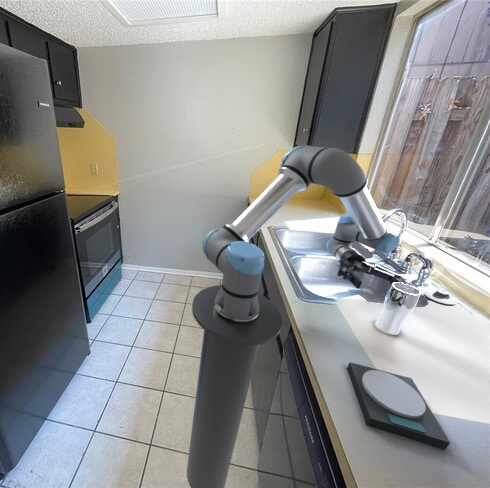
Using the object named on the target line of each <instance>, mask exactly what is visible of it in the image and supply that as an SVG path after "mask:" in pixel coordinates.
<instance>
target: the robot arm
mask: <svg viewBox="0 0 490 488" xmlns="http://www.w3.org/2000/svg"><path fill="white" fill-rule="evenodd" d="M277 174H278V176H277V177H276V178H275V179H274V180H273V181H272V182H271V183H270V184H269V185H268V186H267V187H266V188H265V189H264V190H263V191H262V192H261V193H260V194H259V195H258V196H257V197H256V198H255V199H254V200H253V201H252V203H250V204H249V205H248V206H247V208H245V210H243V212H241V213H240V215H239V216H238V217H236V219H235V220H234V221H232V223H226V224H224V225H223V226H222V227H221V228H220V229H218V228H217V229H212V230H211V231H209V232H208V233H207V234H206V235H205V237H204V238H203V241H202V252H203V254H204V255H205V257H206V259H207V260H208V261H209V262H210V263H211V264H213V265H214V266H215V267H216V269H218V270H219V272H220V273H222V281H221V285H222V287H221V289H220V291H219V292H218V294H217V296H216V298H215V300H214V310H215V312H216V313H217V314H218V315H219V316H220V317H221V318H223V319H225V320H227V321H229V322H232V323H237V324H248V323H252V322H254V321H255V320H256V319H257V318H258V316H259V311H260V309H259V302H258V296H257V293H259V290H260V289H259V288H260V284H261V280H262V275H263V271H264V267H265V258H266V257H265V253H264V251H263V250H262V249H261V248H260V247H259V246H257V245H255V244H254V243H250V240H251V239H252V238H253V237H254V236H255V235H256V234H257V233H258V232H259V231H260V230H261V229H262V228H263V227H264V225H266V224H267V223H268V222H269V221H270V220H271V219H272V218H273V217H274V216H275V215H276V214H277V213H278V212H279V211H280V210H281V209H282V208H283V207H284V205H286V204H287V203H288V202H289V201H290V200H291V199H292V198H293V196H295V195H296V194H297V193H299V192H304V191H306V190H307V189H308V188H309V187H310V186H311V185H312V184H314V185H318V186H323V187H325V188H327V189H329V190H330V192H332V194H333V196H335V197H337V198H339V199H340V200H341V202H342V204H343V206H344V207H345V209H346V211H347V213H342V214H340V216H339V219H338V221H337V224H336V226H335V230H334V233H333V237H331V238H329V239H328V241H327V242H326V245H325V247H326V249H327V251H328V252H329V254H330V255H332V256H333V257H334V258H335V259H336V260H337V261H338V262H337V265H336V266H337V268H338V270H337V273H336V274H337V276H338V277H342V280H345V281H346V280H347V281H348V282H350V283H351V284H352V285H353V286H354V287H355V288H356V289H358V290H359V289H361V286H362V283H363V281H362V280H361V279H360V278H359V277H358V276H357V275H356V274H355V272H357V273H362V274H363V273H364V274H366V275H369V276H374V277H377V278H380V279H382V280H385V281H387V282H389V284H390V286H391V285H392V284H393V283H404V282H402V281H401V279H402V277H403V276H402V275H401V274H398V273H396V272H394V271H392V270H390V269H388V268H385V267H383V266H381V265H380V264H378V263H373V264H370V263H369V262H367V260H366V258H365V256H364V255H363V254H361V253H360V252H359V251H358V250H357V249H355V247H353V245H354V242H356V243H359V244H361V245H363V246H366V247H368V248H371V249H373V250H375V251H379V252H382V253H384V254H388V253H391V252H392V251H394V250H395V249H396V248H397V247H398V245H399V244H400V237H399V235H397V234H396V233H393V232H390V231H388V229H387V227H386V226H385V223H384V221H383V219H382V217H381V214H380V212H379V210H378V208H377V206H376V204H375V202H374V200H373V197H372V196H371V193H370V191H369V189H368V186H367V185H368V181H369V180H368V177H367V176H366V173H365V172H364V170H363V168H362V166H360V164H359V163H358V162H357V161H356V160H355V159H354V158H353V156H351V155H350V154H349V153H348V152H345V151H344V150H343V149H340V148H335V147H323V146H312V145H308V144H307V145H298V146H294V147H292V148H290V149H289V150H288V151H286V153H285V154H284V156H283V157H282V159H281V163H280V166H279V169H278V171H277ZM344 268H345V269H346V270H344Z"/></svg>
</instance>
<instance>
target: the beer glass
mask: <svg viewBox="0 0 490 488" xmlns="http://www.w3.org/2000/svg"><path fill="white" fill-rule="evenodd" d="M421 295H422V292H421V290H419V289H418V288H417V287H415V286H413V285H411V284H408V283H404V282H403V283H393V284H392V285H391V284H390V287H389V288H388V290H387V292H386V294H385V296H384V300H383V304H382V309H381V313H380V315H379V317H378V318H377V320H376V321H375V322H374V325H375V327H376V329H378V330H379V331H381V332H382V333H385V334H387V335H390V336H398V335H399V334H400V332H401V327H402V324H404V322H405V321H406V320H407V318H408V317H409V316H410V315H411V314H412V313H413V311H414V310H415V308H416V307H417V305H418V302H419V299H420V297H421Z"/></svg>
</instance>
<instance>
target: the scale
mask: <svg viewBox="0 0 490 488" xmlns="http://www.w3.org/2000/svg"><path fill="white" fill-rule="evenodd" d="M346 371H347V374H348V377H349V379H350V382H351V385H352V388H353V391H354V394H355V397H356V399H357V402H358V405H359V408H360V411H361V415H362V416H363V419H364V422H365V426H367V427H369V428H373V429H376V430H380V431H383V432H385V433H388V434H392V435H395V436H398V437H402V438H405V439H407V440H411V441H413V442H418V443H420V444H424V445H426V446H429V447H433V448H436V449H439V450H442V451H446V450H447V448H448V447H449V446H450V445H451V441H450V439H449V438H448V436H447V434H446V433H445V431H444V429H443V428H442V426H441V424H440V423H439V422H438V420H437V417H436V416H435V414H434V413H433V412H432V410H431V408H430V406H429V405H428V403H427V401H426V400H425V398H424V397H423V395H422V393H421V392H420V390H419V388H418V386H417V385H416V383H415V382H414V379H413V378H412V377H408V376H405V375H400V374H398V373H394V372H390V371H385V370H382V369H377V368H375V367H370V366H367V365H366V366H365V365H362V364H359V363H355V362H351V361H349V362H348V364H347V367H346Z"/></svg>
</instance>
